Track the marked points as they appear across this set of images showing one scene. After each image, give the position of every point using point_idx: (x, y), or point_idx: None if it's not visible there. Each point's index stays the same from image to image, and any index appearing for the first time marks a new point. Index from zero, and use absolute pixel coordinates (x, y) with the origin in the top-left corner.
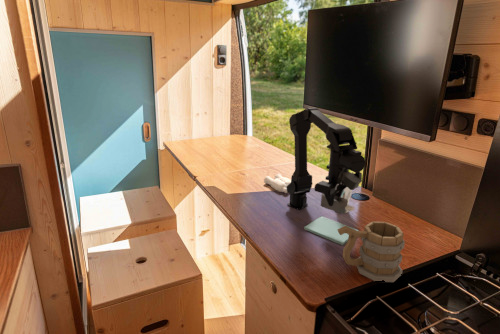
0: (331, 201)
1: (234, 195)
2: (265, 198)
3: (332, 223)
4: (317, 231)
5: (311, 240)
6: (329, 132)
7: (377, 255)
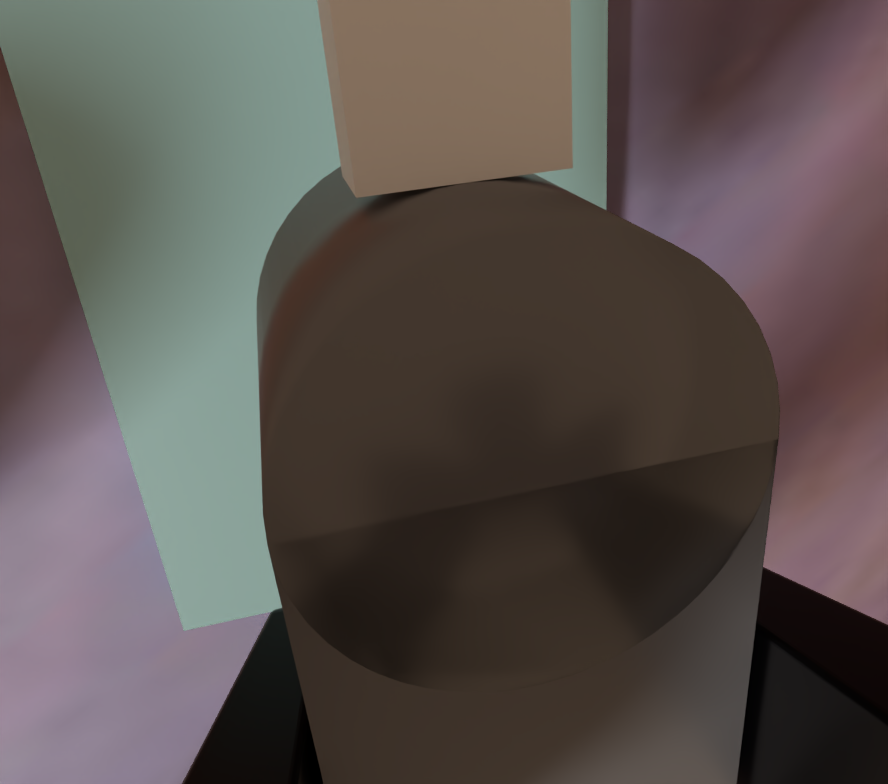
0: (838, 622)
1: None
2: None
3: (223, 410)
4: None
5: (749, 293)
6: None
7: None
